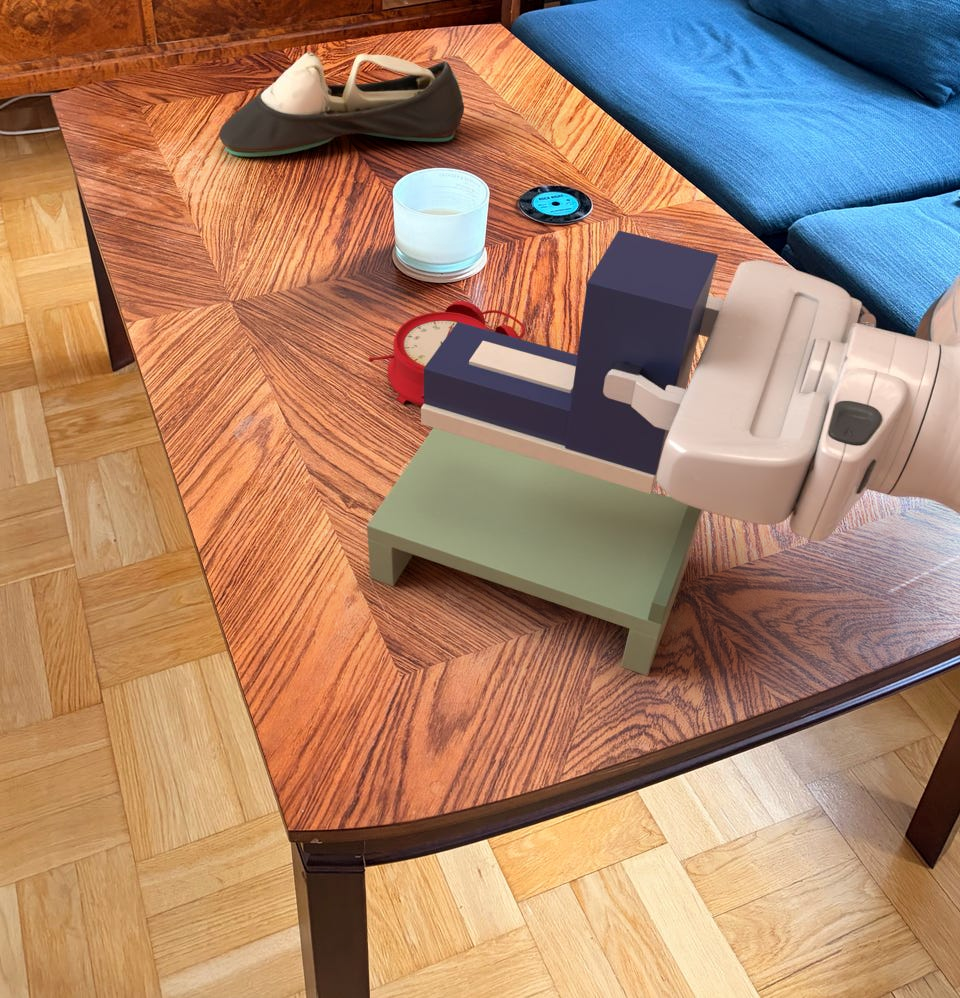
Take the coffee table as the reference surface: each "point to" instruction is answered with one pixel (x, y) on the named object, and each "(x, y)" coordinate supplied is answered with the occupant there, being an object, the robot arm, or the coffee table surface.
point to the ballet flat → (345, 108)
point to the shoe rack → (539, 534)
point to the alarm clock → (430, 345)
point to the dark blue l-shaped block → (580, 368)
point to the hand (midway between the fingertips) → (625, 342)
